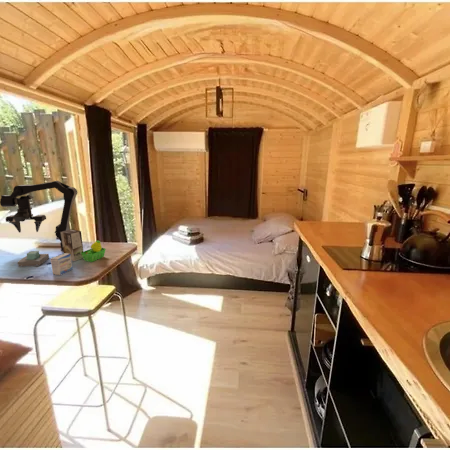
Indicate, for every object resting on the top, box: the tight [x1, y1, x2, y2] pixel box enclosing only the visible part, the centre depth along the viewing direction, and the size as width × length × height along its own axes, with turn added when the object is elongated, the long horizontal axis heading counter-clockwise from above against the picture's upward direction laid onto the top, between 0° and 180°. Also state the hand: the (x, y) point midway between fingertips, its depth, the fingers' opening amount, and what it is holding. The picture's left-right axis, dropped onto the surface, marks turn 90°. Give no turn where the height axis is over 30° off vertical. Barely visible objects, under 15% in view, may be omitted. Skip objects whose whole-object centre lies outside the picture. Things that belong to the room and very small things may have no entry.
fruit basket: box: [81, 240, 107, 263], centre depth 144 cm, size 11×9×11 cm
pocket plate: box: [17, 253, 50, 267], centre depth 138 cm, size 10×11×2 cm
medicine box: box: [50, 252, 73, 276], centre depth 126 cm, size 8×4×9 cm, turn 168°
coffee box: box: [61, 228, 84, 262], centre depth 143 cm, size 9×6×16 cm
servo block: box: [26, 250, 41, 260], centre depth 138 cm, size 4×7×6 cm, turn 11°
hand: (28, 232), depth 151 cm, fingers open, 9 cm apart
